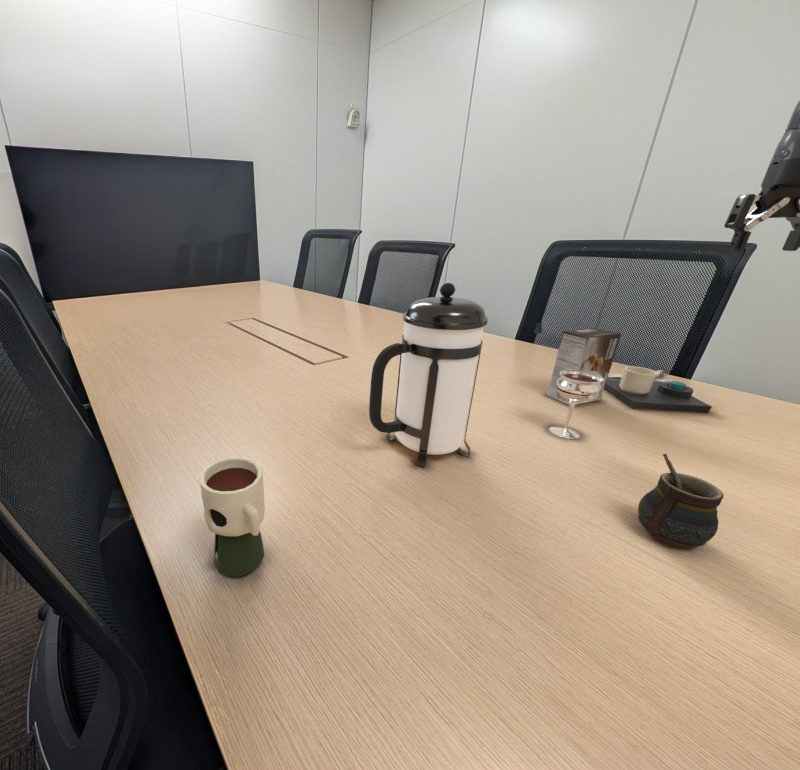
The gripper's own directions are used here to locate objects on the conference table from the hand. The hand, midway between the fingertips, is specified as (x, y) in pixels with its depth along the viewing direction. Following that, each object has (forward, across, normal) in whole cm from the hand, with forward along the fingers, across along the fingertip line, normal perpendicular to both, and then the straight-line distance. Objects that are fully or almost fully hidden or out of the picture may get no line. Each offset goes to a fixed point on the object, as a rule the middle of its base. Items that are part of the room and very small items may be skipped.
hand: (762, 251), depth 75 cm
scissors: (+32, +8, -11) cm, 35 cm away
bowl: (+30, +14, +2) cm, 34 cm away
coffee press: (+32, +65, +34) cm, 80 cm away
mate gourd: (+32, +36, +50) cm, 70 cm away
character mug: (+32, +90, +65) cm, 116 cm away
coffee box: (+32, +28, +5) cm, 43 cm away
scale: (+32, +11, +2) cm, 34 cm away
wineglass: (+32, +37, +23) cm, 54 cm away
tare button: (+29, +6, +2) cm, 30 cm away
